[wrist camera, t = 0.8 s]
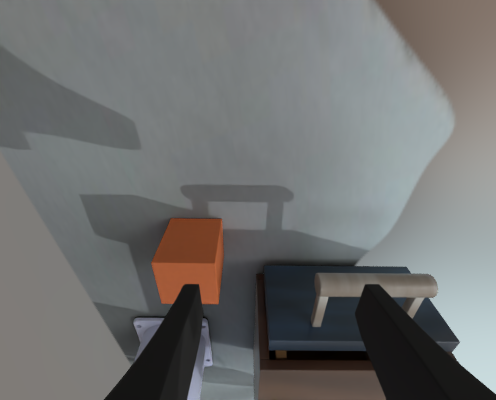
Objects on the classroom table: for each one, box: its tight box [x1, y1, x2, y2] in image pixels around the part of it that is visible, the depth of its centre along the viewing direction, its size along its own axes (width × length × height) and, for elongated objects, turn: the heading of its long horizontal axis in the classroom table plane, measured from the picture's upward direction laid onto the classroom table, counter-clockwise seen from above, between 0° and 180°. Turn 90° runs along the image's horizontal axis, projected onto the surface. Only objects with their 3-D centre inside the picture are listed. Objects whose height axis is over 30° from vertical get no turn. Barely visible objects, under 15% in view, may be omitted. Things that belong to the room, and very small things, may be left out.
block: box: [151, 218, 224, 304], centre depth 20 cm, size 4×4×5 cm
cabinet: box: [253, 274, 459, 400], centre depth 24 cm, size 13×14×8 cm
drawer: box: [264, 266, 460, 360], centre depth 22 cm, size 17×13×7 cm
